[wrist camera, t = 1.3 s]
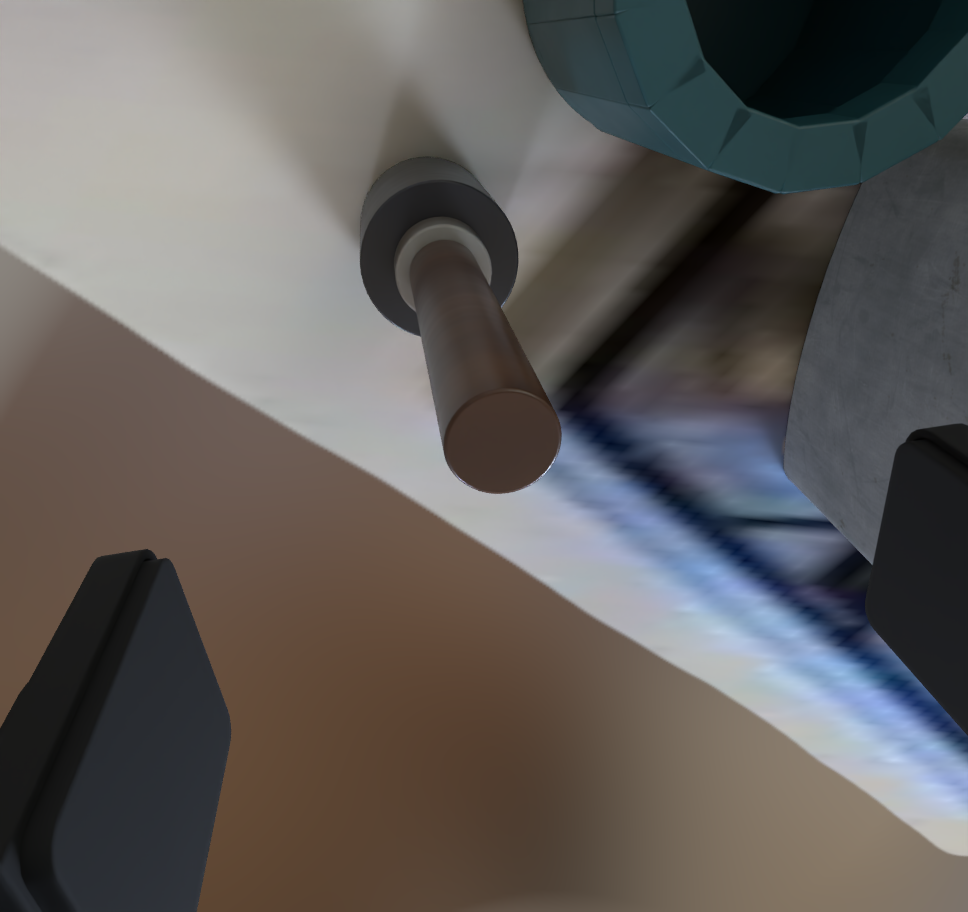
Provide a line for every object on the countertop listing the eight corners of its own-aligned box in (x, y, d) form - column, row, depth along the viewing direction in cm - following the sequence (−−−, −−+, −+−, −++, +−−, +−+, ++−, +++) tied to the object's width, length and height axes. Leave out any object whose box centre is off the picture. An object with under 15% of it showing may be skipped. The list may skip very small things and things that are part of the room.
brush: (349, 165, 25) (329, 326, 11) (487, 148, 26) (646, 283, 11) (372, 301, 28) (383, 580, 13) (499, 284, 28) (641, 537, 14)
